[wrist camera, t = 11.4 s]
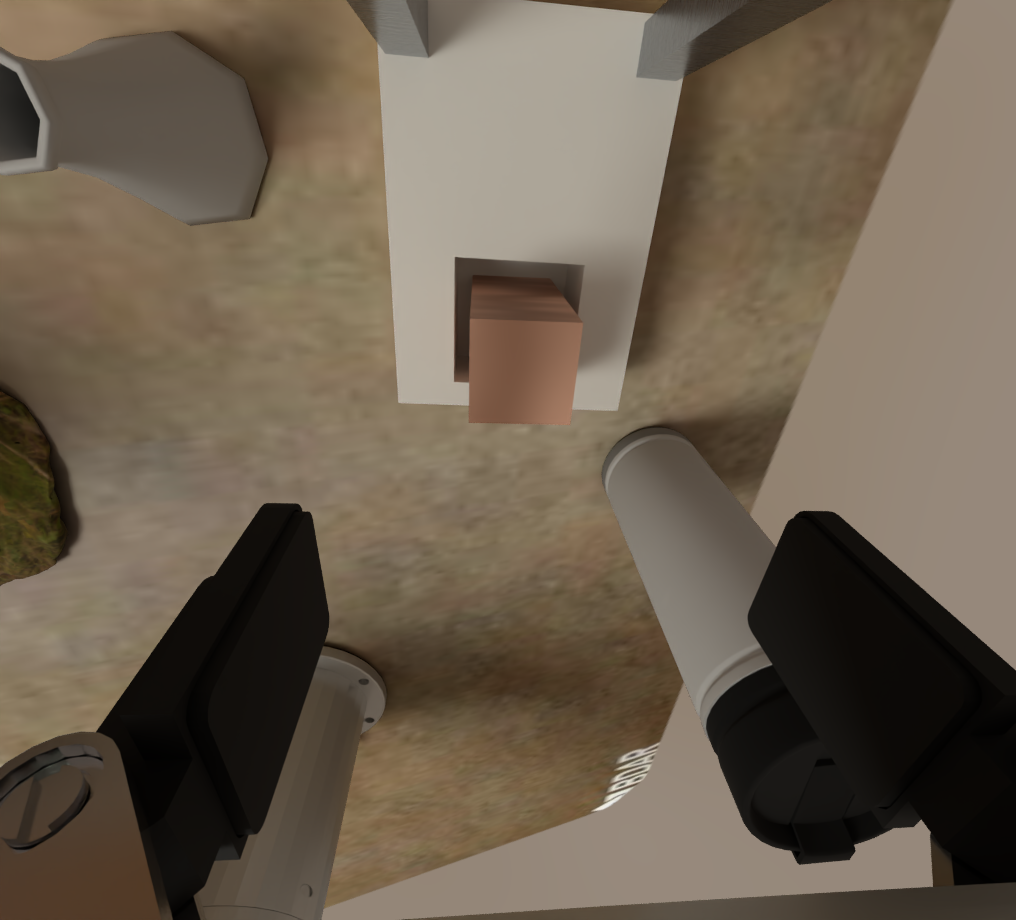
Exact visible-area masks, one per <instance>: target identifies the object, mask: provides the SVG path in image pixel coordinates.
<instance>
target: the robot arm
mask: <svg viewBox="0 0 1016 920" xmlns="http://www.w3.org/2000/svg"><path fill="white" fill-rule="evenodd" d="M747 619H748V625H749V628H750V630H751V632H752V634H753V635H754V637H755V638H756V640H757V641H758V643H759V645H760V646H761V648H762V649H763V651H764V652H765V654H766V656H767V657H768V659H769V660H770V662H771V663H772V665H773V667H774V668H775V670H776V671H777V673H778V674H779V676H780V678H781V679H782V681H783V682H784V684H785V685H786V687H787V689H788V690H789V692H790V693H791V695H792V696H793V698H794V699H795V701H796V703H797V704H798V706H799V707H800V709H801V710H802V712H803V714H804V715H805V717H806V718H807V720H808V721H809V723H810V725H811V726H812V728H813V729H814V731H815V732H816V734H817V736H818V737H819V739H820V740H821V742H822V743H823V745H824V747H825V748H826V750H827V751H828V753H829V754H830V756H831V758H832V759H833V761H834V762H835V764H836V765H837V767H838V769H839V770H840V772H841V773H842V775H843V776H844V778H845V780H846V781H847V783H848V784H849V786H850V787H851V789H852V790H853V792H854V794H855V795H856V796H857V798H858V799H859V800H860V801H861V802H862V803H863V804H865V805H866V806H868V807H870V809H871V811H872V812H873V814H874V815H875V817H876V818H877V820H878V821H879V823H880V824H881V826H882V828H902V827H903V828H904V827H914V826H915V825H916V824H917V823H918V822H919V821H920V820H921V819H922V821H923V822H924V823H925V825H926V826H927V828H928V829H929V830H930V831H931V834H930V841H931V858H932V875H933V887H922V888H904V889H886V890H868V891H849V892H832V893H815V894H800V895H781V896H764V897H747V898H731V899H715V900H698V901H682V902H666V903H649V904H634V905H633V904H632V905H616V906H600V907H586V908H570V909H555V910H540V911H524V912H511V913H494V914H480V915H464V916H449V917H433V918H419V919H405V920H1016V670H1015V669H1013V668H1012V667H1011V666H1010V665H1009V664H1008V663H1007V662H1005V661H1004V660H1003V659H1002V658H1001V657H1000V656H999V655H997V654H996V653H995V652H994V651H993V650H992V649H990V647H988V646H987V645H986V644H985V643H984V642H982V641H981V640H980V639H979V638H978V637H977V636H976V635H975V634H973V633H972V632H971V631H970V630H969V629H968V628H967V627H966V626H964V625H963V624H962V623H961V622H960V621H959V620H958V619H956V618H955V617H954V616H953V615H952V614H951V613H950V612H948V611H947V610H946V609H945V608H944V607H943V606H941V605H940V604H939V603H938V602H937V601H936V600H935V599H934V598H932V597H931V596H930V595H929V594H928V593H926V591H924V590H923V589H922V588H921V587H920V586H919V585H918V584H916V583H915V582H914V581H913V580H912V579H911V578H910V577H908V576H907V575H906V574H905V573H904V572H903V571H902V570H900V569H899V568H898V567H897V566H896V565H895V564H894V563H892V562H891V561H890V560H889V559H888V558H887V557H886V556H884V555H883V554H882V553H881V552H880V551H879V550H878V549H876V548H875V547H874V546H873V545H872V544H871V543H870V542H868V541H867V540H866V539H865V538H864V537H863V536H862V535H860V534H859V533H858V532H857V531H856V530H855V529H853V527H851V526H850V525H849V524H848V523H847V522H845V520H843V519H842V518H841V517H840V516H839V515H837V514H836V513H834V512H829V511H802V512H799V513H798V514H796V515H795V517H794V518H792V519H791V520H789V521H788V523H787V524H786V526H785V529H784V531H783V533H782V536H781V538H780V540H779V542H778V545H777V547H776V549H775V552H774V554H773V556H772V558H771V561H770V563H769V565H768V568H767V570H766V572H765V575H764V577H763V579H762V581H761V584H760V586H759V588H758V591H757V593H756V595H755V598H754V600H753V602H752V604H751V607H750V609H749V612H748V617H747ZM328 628H329V611H328V605H327V599H326V594H325V588H324V582H323V576H322V570H321V565H320V559H319V553H318V547H317V541H316V536H315V530H314V524H313V518H312V515H311V513H310V512H302V508H301V506H300V505H299V504H288V503H266V504H264V505H263V506H262V507H261V508H260V509H259V511H258V512H257V514H256V515H255V517H254V518H253V520H252V521H251V523H250V524H249V525H248V527H247V528H246V530H245V531H244V533H243V534H242V536H241V537H240V539H239V540H238V542H237V543H236V545H235V546H234V547H233V549H232V550H231V552H230V553H229V555H228V556H227V558H226V559H225V561H224V562H223V564H222V565H221V567H220V568H219V569H218V571H217V572H216V574H215V575H214V576H210V577H208V578H206V579H205V580H204V581H203V582H202V583H201V584H200V585H199V586H198V588H197V589H196V591H195V592H194V593H193V595H192V596H191V598H190V599H189V600H188V602H187V603H186V605H185V606H184V608H183V609H182V610H181V612H180V613H179V615H178V616H177V618H176V619H175V620H174V622H173V623H172V625H171V626H170V628H169V629H168V630H167V632H166V633H165V635H164V636H163V637H162V639H161V640H160V642H159V643H158V645H157V646H156V647H155V649H154V650H153V652H152V653H151V655H150V656H149V657H148V659H147V660H146V662H145V663H144V664H143V666H142V667H141V669H140V670H139V672H138V673H137V674H136V676H135V677H134V679H133V680H132V682H131V683H130V684H129V686H128V687H127V689H126V690H125V692H124V693H123V694H122V696H121V697H120V699H119V700H118V701H117V703H116V704H115V706H114V707H113V709H112V710H111V711H110V713H109V714H108V716H107V717H106V719H105V720H104V721H103V723H102V724H101V726H100V727H99V728H98V730H97V731H96V732H76V733H71V734H67V735H62V736H58V737H55V738H53V739H50V740H48V741H45V742H43V743H41V744H38V745H36V746H33V747H31V748H30V749H28V750H26V751H25V752H23V753H21V754H20V755H18V756H16V757H15V758H13V759H11V760H10V761H8V762H6V763H5V764H4V765H3V766H1V767H0V920H321V918H322V914H323V909H324V904H325V900H326V895H327V890H328V886H329V881H330V876H331V872H332V867H333V862H334V858H335V853H336V848H337V844H338V839H339V834H340V830H341V825H342V820H343V816H344V811H345V806H346V801H347V797H348V792H349V787H350V783H351V778H352V773H353V769H354V764H355V759H356V755H357V750H358V745H359V741H360V736H361V734H362V733H363V732H365V731H367V730H369V729H370V728H371V727H372V726H374V725H375V724H376V723H377V722H378V721H379V719H380V718H381V717H382V714H383V712H384V709H385V704H386V698H387V693H386V687H385V684H384V682H383V680H382V678H381V677H380V675H379V674H378V673H377V672H376V670H374V669H373V668H372V667H371V666H370V665H369V664H367V663H366V662H364V661H363V660H361V659H359V658H358V657H356V656H354V655H352V654H349V653H347V652H344V651H342V650H338V649H334V648H331V647H326V646H323V645H324V642H325V639H326V636H327V633H328Z"/></svg>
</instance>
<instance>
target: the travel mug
mask: <svg viewBox="0 0 1016 920" xmlns="http://www.w3.org/2000/svg"><path fill="white" fill-rule="evenodd" d="M602 482H603V485H604V488H605V491H606V493H607V496H608V498H609V500H610V503H611V505H612V508H613V510H614V513H615V515H616V518H617V520H618V523H619V525H620V527H621V530H622V532H623V535H624V537H625V540H626V542H627V544H628V547H629V549H630V552H631V554H632V557H633V559H634V561H635V564H636V566H637V569H638V571H639V574H640V576H641V578H642V581H643V583H644V586H645V588H646V591H647V593H648V596H649V598H650V600H651V603H652V605H653V608H654V610H655V613H656V615H657V617H658V620H659V622H660V625H661V627H662V630H663V632H664V634H665V637H666V639H667V642H668V644H669V647H670V649H671V652H672V654H673V656H674V659H675V661H676V664H677V666H678V669H679V671H680V673H681V676H682V678H683V681H684V683H685V685H686V688H687V690H688V693H689V695H690V698H691V700H692V703H693V705H694V707H695V710H696V712H697V714H698V716H699V717H700V720H701V724H702V727H703V729H704V732H705V734H706V736H707V738H708V739H709V740H710V742H711V745H712V747H713V749H714V752H715V753H716V754H717V755H718V759H719V763H720V766H721V769H722V771H723V774H724V776H725V779H726V781H727V783H728V786H729V788H730V791H731V793H732V795H733V798H734V800H735V803H736V805H737V808H738V810H739V812H740V815H741V817H742V820H743V822H744V824H745V825H746V827H747V828H748V830H749V831H750V832H751V834H753V835H754V836H755V837H756V838H758V839H759V840H760V841H762V842H764V843H766V844H768V845H770V846H773V847H775V848H780V849H784V850H790V851H792V853H793V855H794V857H795V859H796V861H797V863H798V864H799V865H801V864H811V863H822V862H832V861H842V860H850V858H851V856H852V855H853V854H854V853H855V847H854V845H855V844H858V843H861V842H864V841H867V840H870V839H872V838H875V837H877V836H879V835H881V834H883V833H885V832H887V831H889V830H891V829H893V828H882V826H881V824H880V823H879V821H878V820H877V818H876V817H875V815H874V814H873V812H872V811H871V809H870V807H868V806H866V805H865V804H863V803H862V802H861V801H860V800H859V799H858V798H857V796H856V795H855V794H854V792H853V790H852V789H851V787H850V786H849V784H848V783H847V781H846V780H845V778H844V776H843V775H842V773H841V772H840V770H839V769H838V767H837V765H836V764H835V762H834V761H833V759H832V758H831V756H830V754H829V753H828V751H827V750H826V748H825V747H824V745H823V743H822V742H821V740H820V739H819V737H818V736H817V734H816V732H815V731H814V729H813V728H812V726H811V725H810V723H809V721H808V720H807V718H806V717H805V715H804V714H803V712H802V710H801V709H800V707H799V706H798V704H797V703H796V701H795V699H794V698H793V696H792V695H791V693H790V692H789V690H788V689H787V687H786V685H785V684H784V682H783V681H782V679H781V678H780V676H779V674H778V673H777V671H776V670H775V668H774V667H773V665H772V663H771V662H770V660H769V659H768V657H767V656H766V654H765V652H764V651H763V649H762V648H761V646H760V645H759V643H758V641H757V640H756V638H755V637H754V635H753V634H752V632H751V630H750V628H749V625H748V619H747V617H748V612H749V609H750V607H751V604H752V602H753V600H754V598H755V595H756V593H757V591H758V588H759V586H760V584H761V581H762V579H763V577H764V575H765V572H766V570H767V568H768V565H769V563H770V561H771V558H772V556H773V554H774V552H775V549H776V547H775V546H774V544H773V543H772V542H771V541H770V539H769V538H768V537H767V536H766V534H765V533H764V532H763V531H762V530H761V529H760V527H759V526H758V525H757V523H756V522H755V521H754V520H753V519H752V517H751V516H750V515H749V514H748V512H747V511H746V510H745V509H744V507H743V506H742V505H741V504H740V503H739V501H738V500H737V499H736V498H735V496H734V495H733V494H732V493H731V492H730V490H729V489H728V488H727V487H726V485H725V484H724V483H723V482H722V480H721V479H720V478H719V477H718V476H717V474H716V473H715V472H714V471H713V469H712V468H711V467H710V466H709V465H708V463H707V462H706V461H705V460H704V458H703V457H702V456H701V455H700V454H699V452H698V451H697V450H696V449H695V447H694V446H693V445H692V444H691V442H690V441H689V440H688V439H687V438H686V437H685V436H684V435H682V434H681V433H679V432H677V431H674V430H672V429H667V428H647V429H642V430H640V431H637V432H634V433H632V434H630V435H628V436H626V437H625V438H623V439H622V440H621V441H619V442H618V443H617V444H616V445H615V446H614V447H613V448H612V450H611V451H610V452H609V454H608V456H607V457H606V459H605V462H604V464H603V469H602Z"/></svg>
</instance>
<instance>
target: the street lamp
mask: <svg viewBox="0 0 1016 920" xmlns="http://www.w3.org/2000/svg"><path fill="white" fill-rule="evenodd" d="M830 1H832V0H668V1H667V2H666V3H665V4H664V5H663V6H662V7H661V8H660V9H658V10H657V11H656V12H655V13H654V14H653V15H652V16H651V17H650V18H649V19H648V20H647V21H646V22H645V25H644V31H643V37H642V44H641V50H640V56H639V63H638V69H637V75H636V77H637V78H648V79H659V80H669V81H677V80H679V79H681V78H683V77H685V76H687V75H689V74H691V73H693V72H695V71H697V70H698V69H700V68H702V67H704V66H706V65H708V64H710V63H712V62H714V61H716V60H718V59H720V58H722V57H724V56H726V55H728V54H730V53H731V52H733V51H735V50H737V49H739V48H741V47H743V46H745V45H747V44H749V43H751V42H753V41H755V40H757V39H759V38H761V37H762V36H764V35H766V34H768V33H770V32H772V31H774V30H776V29H778V28H780V27H782V26H784V25H786V24H788V23H790V22H792V21H793V20H795V19H797V18H799V17H801V16H803V15H805V14H807V13H809V12H811V11H813V10H815V9H817V8H819V7H821V6H823V5H825V4H826V3H828V2H830ZM347 2H348V3H349V4H350V6H351V7H352V8H353V10H354V11H355V13H356V14H357V15H358V17H359V18H360V20H361V21H362V22H363V24H364V25H365V26H366V28H367V29H368V31H369V32H370V33H371V35H372V36H373V37H374V39H375V40H376V42H377V43H378V44H379V46H380V47H381V49H382V50H383V51H384V53H385V54H392V55H403V56H414V57H424V58H429V49H428V0H347Z"/></svg>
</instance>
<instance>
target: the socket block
mask: <svg viewBox="0 0 1016 920" xmlns="http://www.w3.org/2000/svg"><path fill="white" fill-rule="evenodd" d="M652 15H653V14H650V13H641V12H631V11H622V10H612V9H602V8H593V7H583V6H574V5H564V4H555V3H545V2H536V1H526V0H428V49H429V58H424V57H414V56H403V55H392V54H385V53H384V51H383V50H382V49H381V47H380V46H379V44H378V60H379V77H380V94H381V111H382V129H383V146H384V163H385V180H386V197H387V214H388V231H389V248H390V266H391V283H392V300H393V317H394V334H395V351H396V368H397V385H398V403H415V404H443V405H469V345H470V307H471V292H472V277H473V275H486V276H508V277H531V278H550V279H551V280H552V282H553V283H554V284H555V286H556V287H557V288H558V290H559V291H560V292H561V294H562V295H563V296H564V298H565V299H566V300H567V302H568V303H569V304H570V306H571V307H572V308H573V310H574V311H575V312H576V314H577V315H578V316H579V318H580V319H581V320H582V322H583V330H582V337H581V345H580V353H579V360H578V368H577V376H576V383H575V391H574V399H573V406H572V409H579V410H606V411H617V410H618V405H619V400H620V395H621V390H622V385H623V380H624V375H625V370H626V365H627V360H628V355H629V350H630V345H631V340H632V335H633V329H634V324H635V319H636V314H637V309H638V304H639V299H640V294H641V289H642V284H643V279H644V274H645V269H646V264H647V259H648V254H649V249H650V244H651V239H652V233H653V228H654V223H655V218H656V213H657V208H658V203H659V198H660V193H661V188H662V183H663V178H664V173H665V168H666V163H667V158H668V153H669V148H670V143H671V137H672V132H673V127H674V122H675V117H676V112H677V107H678V102H679V97H680V92H681V87H682V82H683V78H681V79H679V80H677V81H669V80H659V79H648V78H637V77H636V75H637V69H638V63H639V56H640V50H641V44H642V37H643V31H644V25H645V22H646V21H647V20H648V19H649V18H650V17H651V16H652Z"/></svg>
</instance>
